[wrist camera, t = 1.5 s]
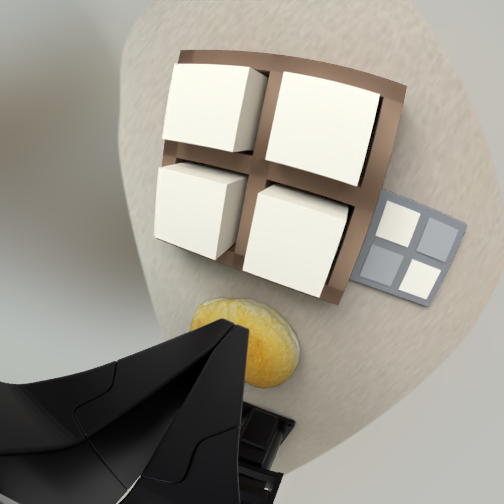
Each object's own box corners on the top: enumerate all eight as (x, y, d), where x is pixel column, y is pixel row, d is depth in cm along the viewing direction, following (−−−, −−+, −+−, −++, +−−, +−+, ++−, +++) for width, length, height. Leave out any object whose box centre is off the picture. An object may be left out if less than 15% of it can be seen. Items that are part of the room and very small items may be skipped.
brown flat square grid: (341, 285, 18) (337, 305, 16) (176, 227, 21) (156, 238, 19) (399, 93, 12) (406, 85, 10) (201, 58, 15) (180, 50, 13)
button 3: (237, 241, 18) (215, 260, 15) (181, 222, 19) (153, 236, 16) (249, 176, 16) (227, 184, 13) (188, 161, 17) (158, 167, 14)
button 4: (254, 149, 15) (232, 152, 13) (192, 136, 16) (162, 138, 14) (269, 78, 13) (249, 67, 11) (203, 72, 14) (174, 63, 12)
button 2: (356, 177, 14) (357, 186, 11) (282, 156, 15) (265, 159, 12) (375, 103, 12) (380, 94, 9) (297, 83, 13) (283, 71, 10)
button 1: (326, 271, 16) (319, 297, 14) (261, 249, 17) (242, 270, 15) (348, 205, 15) (346, 220, 12) (275, 183, 16) (258, 193, 13)
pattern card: (427, 303, 16) (428, 307, 16) (349, 276, 18) (349, 279, 17) (465, 223, 13) (467, 225, 13) (381, 188, 15) (381, 189, 14)
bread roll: (302, 377, 23) (290, 411, 19) (211, 360, 26) (190, 388, 22) (302, 297, 20) (288, 331, 16) (193, 286, 23) (165, 312, 20)
